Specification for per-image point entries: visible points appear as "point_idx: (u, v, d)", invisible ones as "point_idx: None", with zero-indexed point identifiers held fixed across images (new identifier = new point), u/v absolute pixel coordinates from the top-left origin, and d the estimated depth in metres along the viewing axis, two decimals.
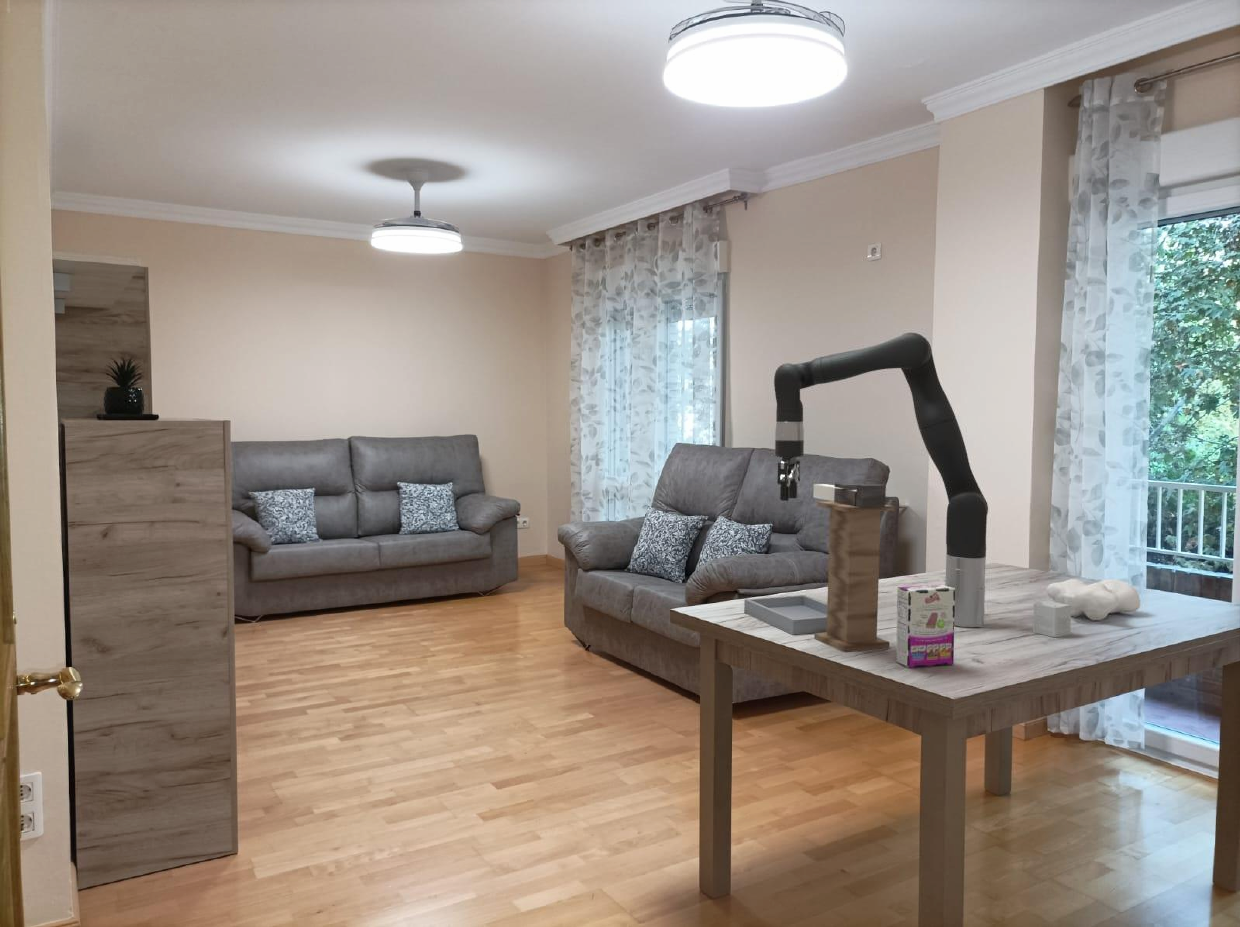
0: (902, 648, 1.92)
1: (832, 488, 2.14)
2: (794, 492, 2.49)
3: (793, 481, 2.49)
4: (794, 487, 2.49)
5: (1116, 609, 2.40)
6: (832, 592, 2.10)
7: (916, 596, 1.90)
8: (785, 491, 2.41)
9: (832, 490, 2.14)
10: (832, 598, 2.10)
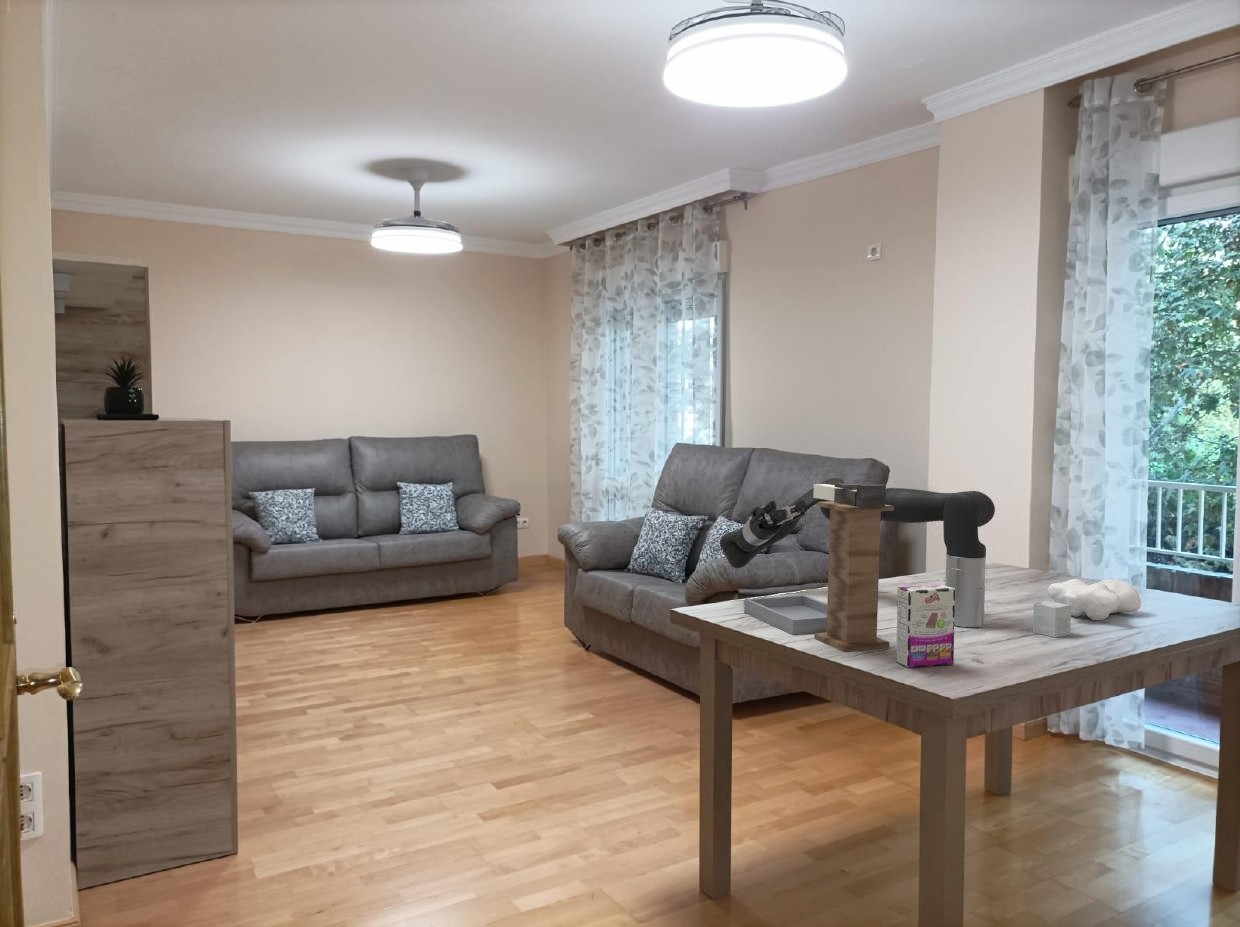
0: (902, 648, 1.92)
1: (832, 488, 2.14)
2: (799, 503, 2.38)
3: (794, 509, 2.40)
4: (796, 506, 2.39)
5: (1117, 609, 2.40)
6: (832, 592, 2.10)
7: (916, 596, 1.90)
8: (766, 506, 2.35)
9: (832, 490, 2.14)
10: (832, 598, 2.10)
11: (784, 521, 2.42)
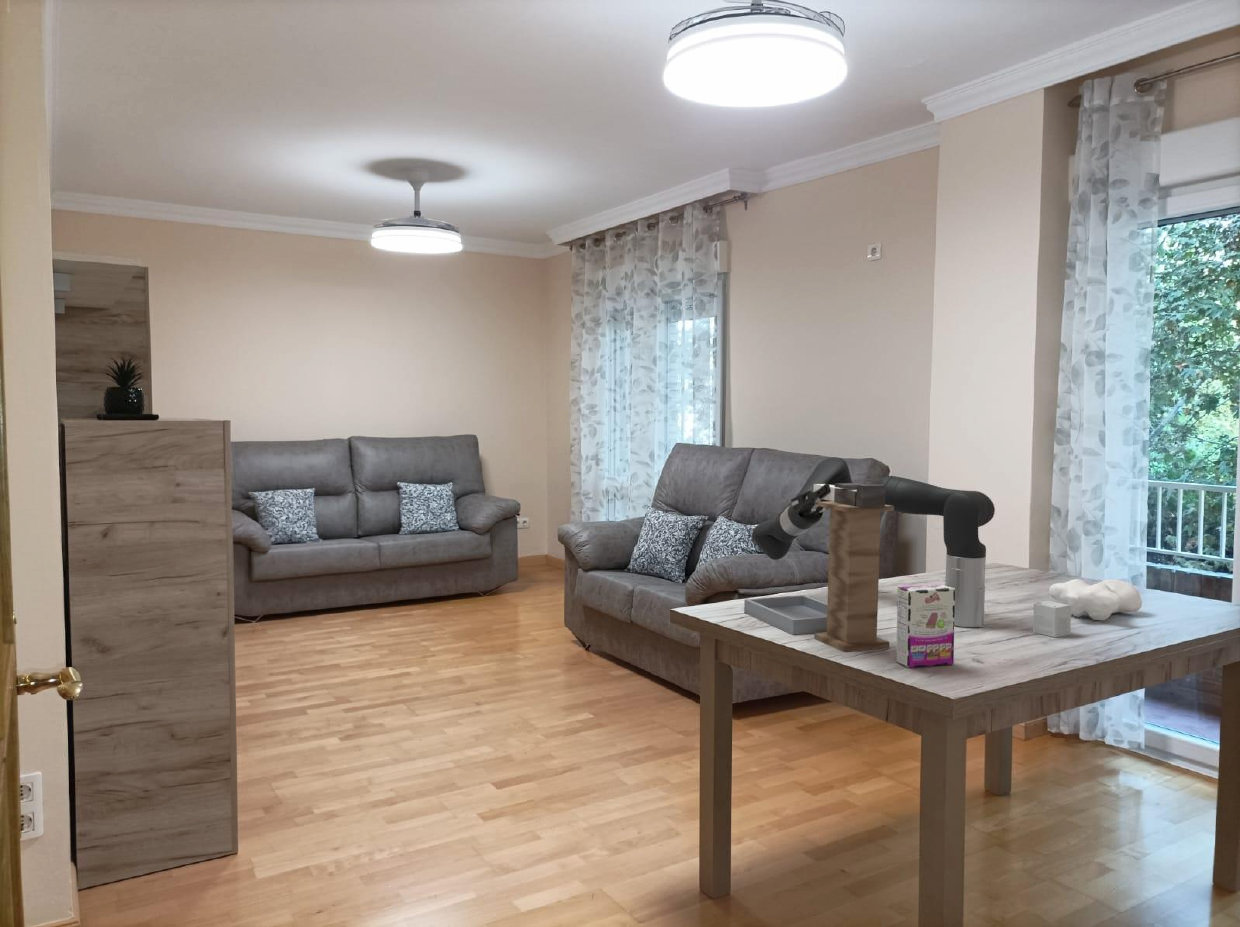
0: (902, 648, 1.92)
1: (832, 488, 2.14)
2: None
3: None
4: None
5: (1118, 609, 2.40)
6: (832, 592, 2.10)
7: (916, 596, 1.90)
8: (819, 490, 2.17)
9: (832, 490, 2.14)
10: (832, 598, 2.10)
11: (825, 508, 2.23)
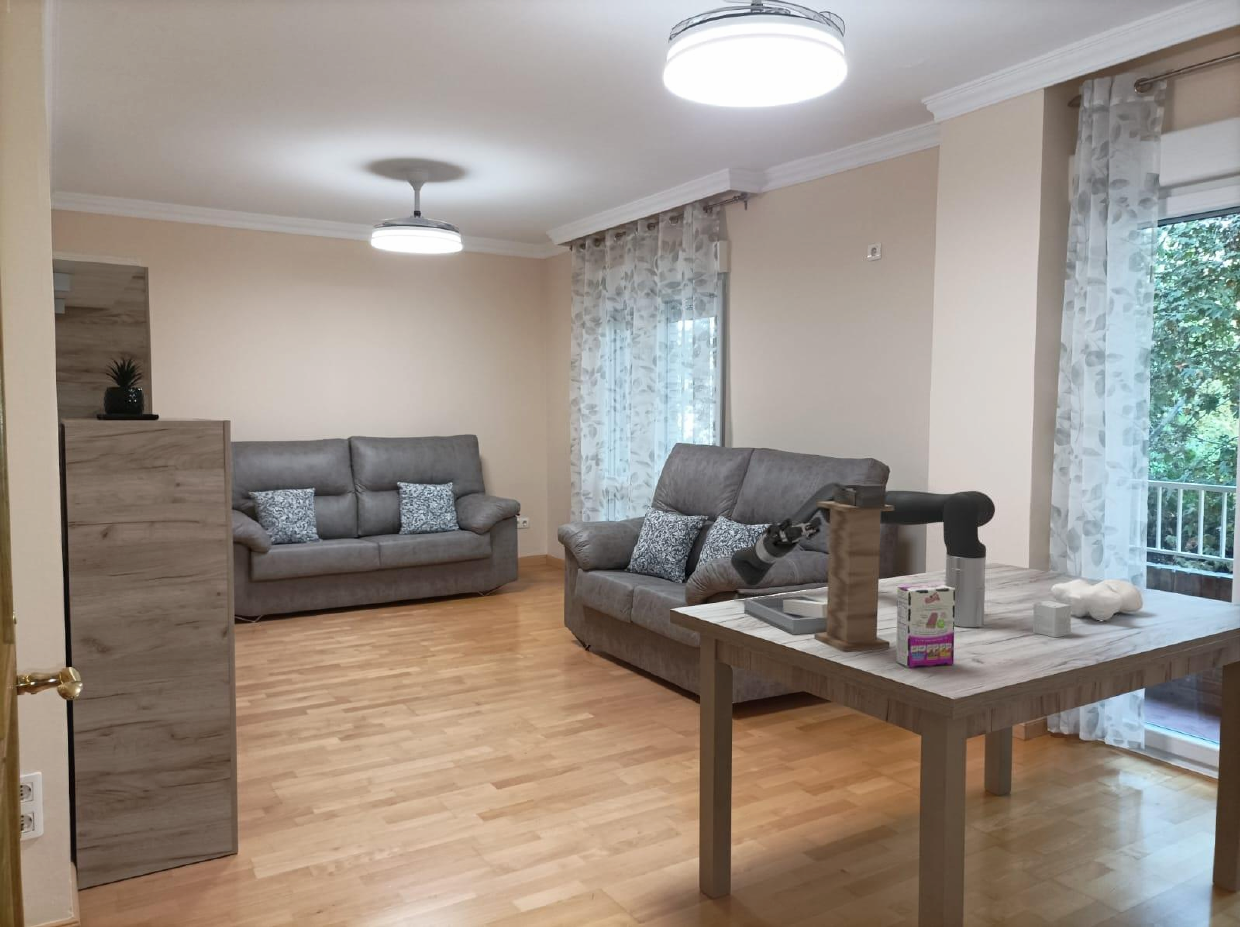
0: (902, 648, 1.92)
1: (798, 602, 2.28)
2: (814, 520, 2.31)
3: None
4: (811, 523, 2.32)
5: (1119, 609, 2.40)
6: (832, 592, 2.10)
7: (916, 596, 1.90)
8: (781, 523, 2.28)
9: (798, 604, 2.28)
10: (832, 598, 2.10)
11: (799, 539, 2.35)
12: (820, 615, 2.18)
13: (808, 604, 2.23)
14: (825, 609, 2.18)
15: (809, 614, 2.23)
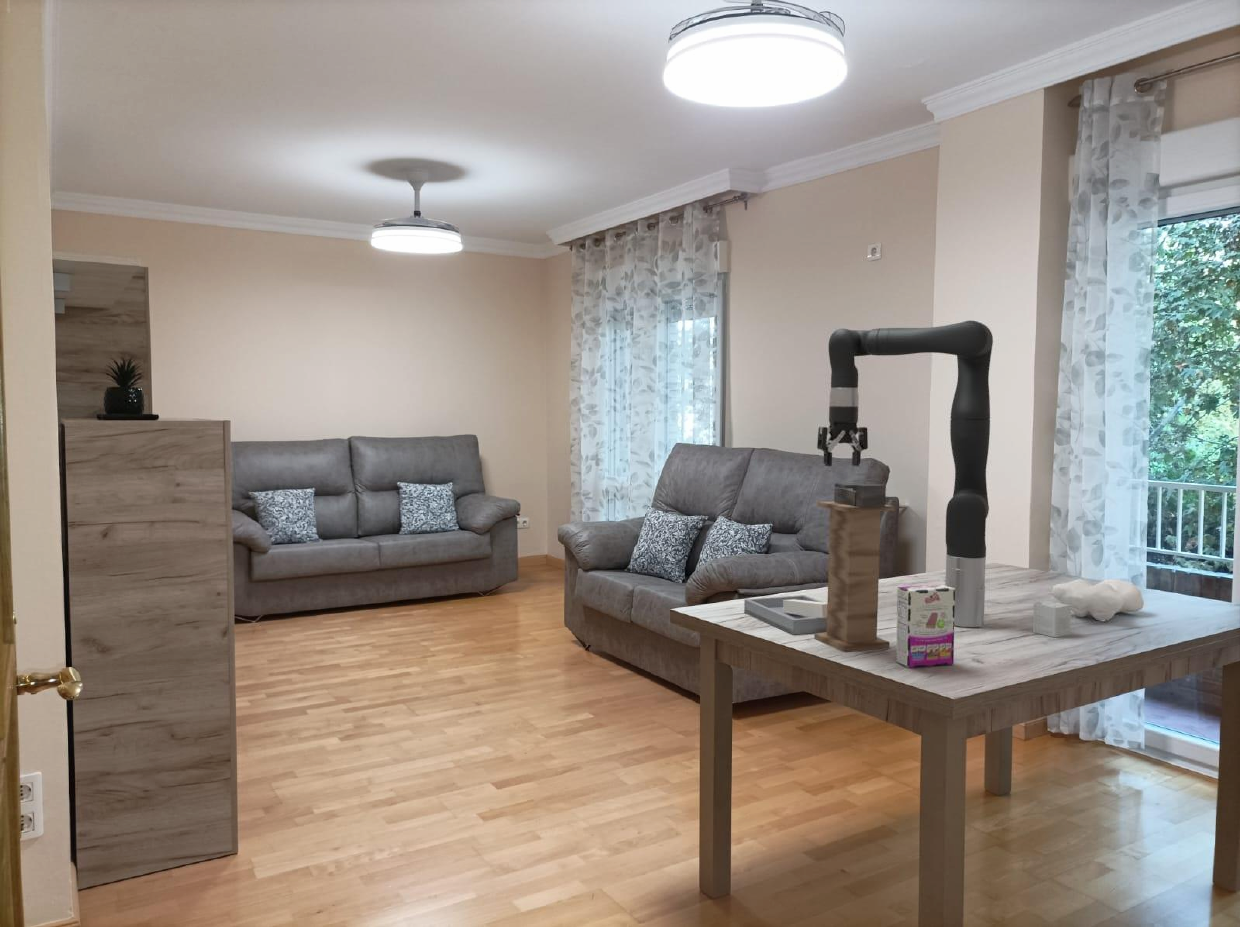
0: (902, 648, 1.92)
1: (798, 602, 2.28)
2: (855, 459, 2.45)
3: (856, 448, 2.46)
4: (855, 454, 2.45)
5: (1120, 609, 2.40)
6: (832, 592, 2.10)
7: (916, 596, 1.90)
8: (826, 457, 2.42)
9: (798, 604, 2.28)
10: (832, 598, 2.10)
11: None
12: (820, 615, 2.18)
13: (808, 604, 2.23)
14: (825, 609, 2.18)
15: (809, 614, 2.23)
